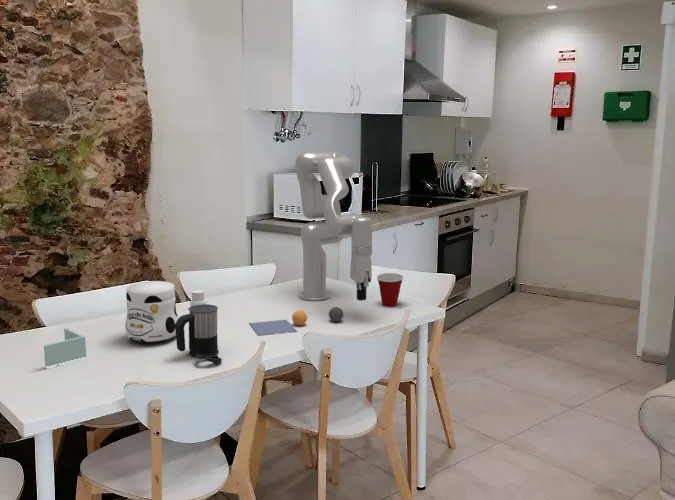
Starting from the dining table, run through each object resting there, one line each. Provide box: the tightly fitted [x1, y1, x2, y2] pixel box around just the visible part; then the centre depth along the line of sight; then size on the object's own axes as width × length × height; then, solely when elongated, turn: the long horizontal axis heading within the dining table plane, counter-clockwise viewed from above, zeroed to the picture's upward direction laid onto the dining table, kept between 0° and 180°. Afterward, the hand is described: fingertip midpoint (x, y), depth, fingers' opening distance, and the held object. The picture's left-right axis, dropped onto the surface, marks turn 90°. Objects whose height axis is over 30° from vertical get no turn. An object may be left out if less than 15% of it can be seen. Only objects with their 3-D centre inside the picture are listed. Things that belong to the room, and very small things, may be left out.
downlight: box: [189, 289, 207, 307], centre depth 240 cm, size 8×7×10 cm
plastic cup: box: [376, 272, 405, 308], centre depth 260 cm, size 11×11×12 cm
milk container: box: [124, 280, 179, 344], centre depth 216 cm, size 17×17×18 cm
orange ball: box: [291, 310, 308, 326], centre depth 234 cm, size 5×5×5 cm
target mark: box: [248, 319, 298, 337], centre depth 231 cm, size 14×14×1 cm
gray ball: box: [328, 306, 344, 323], centre depth 239 cm, size 5×5×5 cm
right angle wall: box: [43, 327, 87, 367], centre depth 197 cm, size 12×12×8 cm
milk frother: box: [175, 303, 223, 365], centre depth 200 cm, size 14×16×15 cm
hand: (361, 299), depth 240 cm, fingers closed
